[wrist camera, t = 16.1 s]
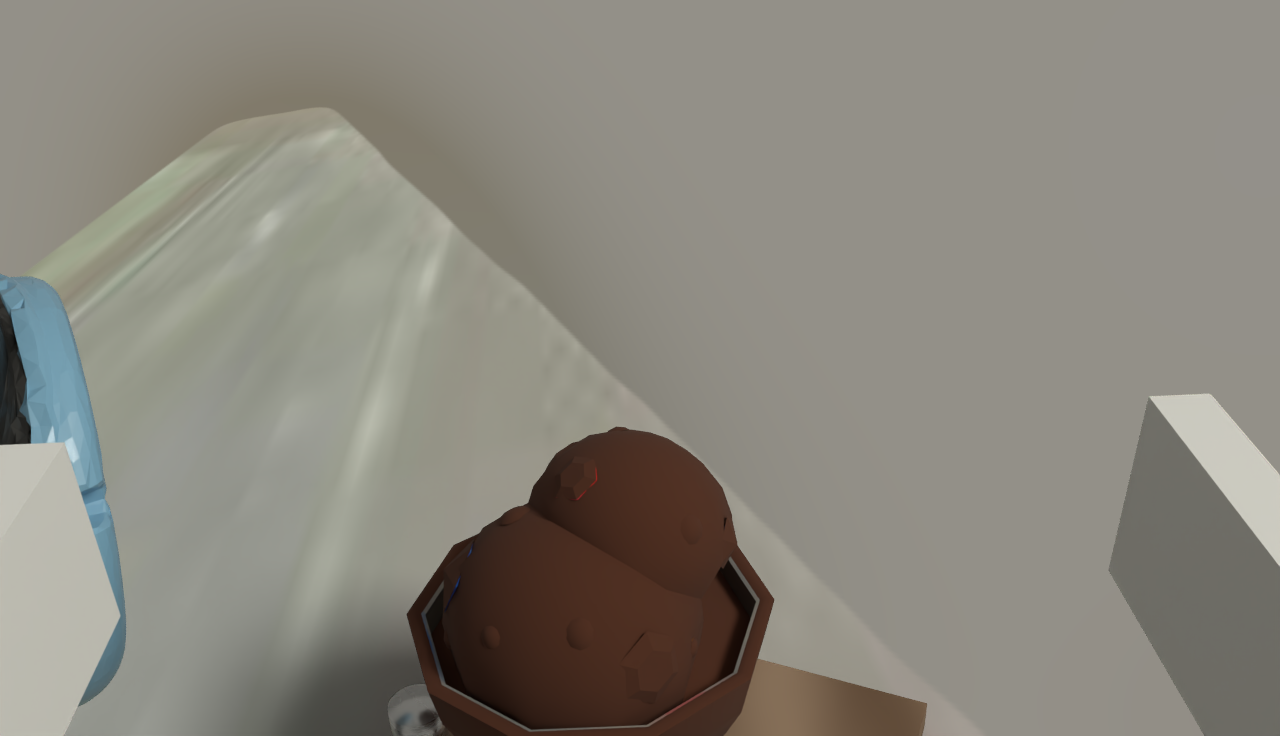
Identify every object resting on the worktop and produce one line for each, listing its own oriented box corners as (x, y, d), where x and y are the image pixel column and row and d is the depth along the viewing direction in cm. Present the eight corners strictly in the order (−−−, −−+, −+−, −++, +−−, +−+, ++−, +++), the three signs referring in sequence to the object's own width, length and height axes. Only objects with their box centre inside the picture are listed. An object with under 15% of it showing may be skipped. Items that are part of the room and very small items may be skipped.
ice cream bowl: (569, 662, 48) (542, 329, 40) (822, 785, 42) (846, 423, 34) (376, 852, 40) (299, 485, 33) (652, 1032, 34) (636, 640, 27)
